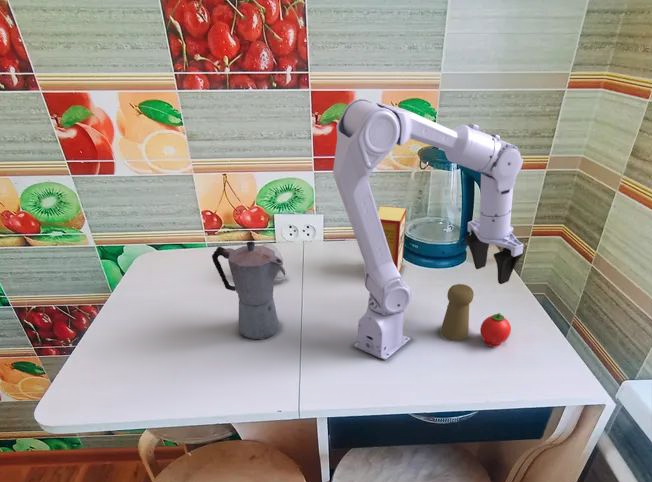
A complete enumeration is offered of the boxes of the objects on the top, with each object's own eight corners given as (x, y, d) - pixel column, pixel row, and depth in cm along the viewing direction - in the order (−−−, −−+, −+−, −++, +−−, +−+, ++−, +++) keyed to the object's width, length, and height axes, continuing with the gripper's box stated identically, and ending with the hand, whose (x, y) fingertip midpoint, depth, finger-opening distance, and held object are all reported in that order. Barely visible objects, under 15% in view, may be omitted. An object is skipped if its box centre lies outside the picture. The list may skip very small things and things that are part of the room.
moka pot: (284, 345, 97) (273, 254, 84) (215, 337, 99) (195, 248, 87) (297, 321, 104) (289, 234, 91) (232, 314, 107) (216, 229, 94)
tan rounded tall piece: (467, 326, 102) (475, 280, 95) (469, 341, 98) (478, 295, 91) (439, 324, 103) (445, 279, 96) (440, 340, 98) (447, 293, 91)
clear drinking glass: (242, 278, 120) (238, 250, 115) (263, 266, 126) (260, 239, 121) (273, 289, 116) (270, 261, 111) (294, 277, 121) (292, 249, 116)
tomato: (500, 353, 94) (507, 325, 90) (473, 343, 97) (478, 315, 93) (511, 340, 98) (519, 312, 94) (485, 330, 101) (491, 303, 97)
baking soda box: (378, 263, 127) (380, 204, 117) (402, 266, 126) (406, 206, 115) (371, 279, 120) (372, 217, 110) (396, 282, 119) (400, 219, 108)
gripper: (539, 215, 83) (531, 282, 92) (488, 193, 93) (485, 255, 102) (507, 228, 81) (502, 294, 90) (459, 204, 92) (458, 265, 101)
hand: (491, 274), depth 96 cm, fingers open, 7 cm apart
